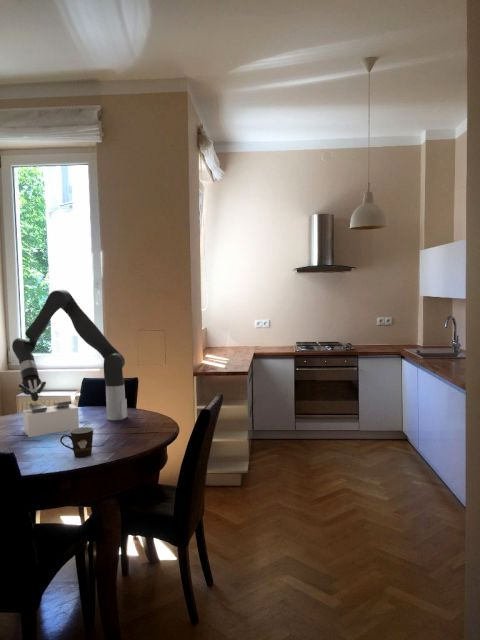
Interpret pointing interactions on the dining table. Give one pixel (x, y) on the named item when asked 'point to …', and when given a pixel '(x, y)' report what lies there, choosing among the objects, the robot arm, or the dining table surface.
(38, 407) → the rocker outer
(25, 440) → the dining table surface
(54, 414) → the switch box
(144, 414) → the dining table surface
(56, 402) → the block
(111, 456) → the dining table surface
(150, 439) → the dining table surface
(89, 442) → the coffee mug
